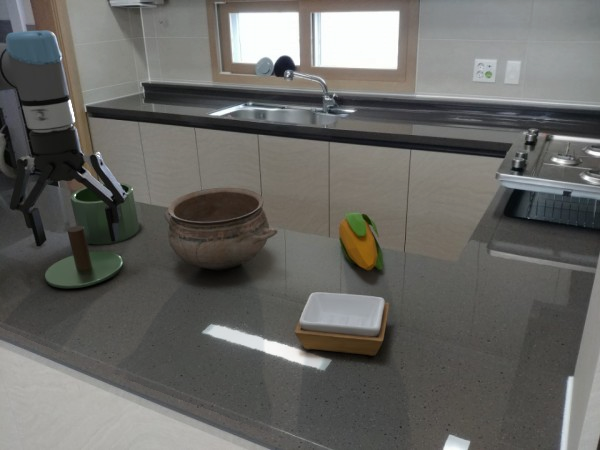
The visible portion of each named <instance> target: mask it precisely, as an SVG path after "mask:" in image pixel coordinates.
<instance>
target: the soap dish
mask: <svg viewBox="0 0 600 450" xmlns="http://www.w3.org/2000/svg"><path fill="white" fill-rule="evenodd" d="M389 308H390V302H386V301H385V299H384V298H383V297H379V296H372V295H363V294H349V293H336V292H335V293H334V292H321V291H319V292H317V291H316V292H312V293H310V295H309V296H308V298H307V301H306V303H305V305H304V307H303V310H302V311H301V314H300V315H301V316H299V317H300V318H299V320H298V323H297V325H296V328H295V330H294V334H295V336H296V337H297V339H298V341H299V342H300V344H301V345H302V346H303V348H304V349H306V350H307V351H310V350H318V351H326V352H327V351H328V352H335V353H336V352H338V353H346V354H355V355H356V354H357V355H365V356H369V357H373V356H376V355H377V354H378V352H379V350H380V348H381V346H382V344H383V341H384V338H385V332H386V326H387V320H388V313H389Z"/></svg>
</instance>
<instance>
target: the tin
mask: <svg viewBox="0 0 600 450" xmlns="http://www.w3.org/2000/svg"><path fill="white" fill-rule="evenodd" d="M118 183H119V184H120V185H121V187H122V188H123V189H124V191H125V192H126V193H127V195H128V198H127V199H126V200H125V202H124V203H122V204H119V209H120V214H121V220H120V221H119V223H117V225H118V230H119V235H120V236H119V237H118V239H117V240H116V242H111V237H110V232H109V227H108V222H107V218H106V213H105V208H106V207H107V204H106V203H104V202H103V201H102V200H101V199H100V198H99V197H97V196H96V195H95V194H94V193H93V192H91V191H90V190H89V189H88V188H87V187H86V186H84V187H83V188H79V189H78V190H76V191H74V192H73V193H72V194H71V195H70V203H71V207H72V212H73V215H74V221H75V226H83V227H84V232H85V236H86V241H87V245H96V246H98V245H100V246H102V245H110V244H115V243H119V242H122V241H125V240H128V239H130V238H132V237H134V236H135V235H136V234H137V233H138V232H139V230H140V225H139V224H140V223H139V218H138V213H137V207H136V201H135V195H134V191H133V186H131V185H130V184H128V183H122V182H118ZM101 184H102V185H103V186H104V187H106V188H107V186H106V185H105V184H104V183H101ZM107 189H108V188H107ZM108 190H109V189H108ZM109 191H110V190H109Z"/></svg>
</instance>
